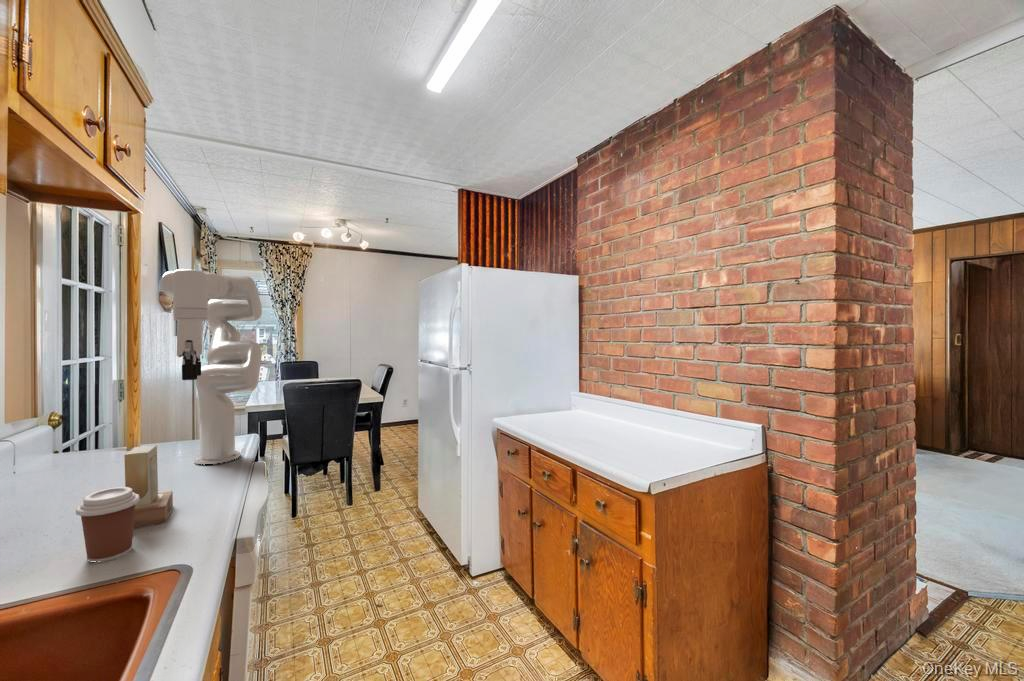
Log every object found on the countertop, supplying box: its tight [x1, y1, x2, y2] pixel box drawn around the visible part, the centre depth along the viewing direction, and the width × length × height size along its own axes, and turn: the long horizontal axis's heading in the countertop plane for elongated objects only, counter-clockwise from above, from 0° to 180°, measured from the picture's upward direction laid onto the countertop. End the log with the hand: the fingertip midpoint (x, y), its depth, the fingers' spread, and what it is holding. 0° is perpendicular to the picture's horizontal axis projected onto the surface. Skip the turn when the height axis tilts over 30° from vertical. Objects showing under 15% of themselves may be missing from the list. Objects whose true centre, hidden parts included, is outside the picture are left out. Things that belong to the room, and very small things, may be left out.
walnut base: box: [133, 490, 174, 529], centre depth 98 cm, size 10×10×4 cm
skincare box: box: [124, 444, 159, 506], centre depth 98 cm, size 6×4×12 cm
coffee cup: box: [75, 486, 140, 562], centre depth 83 cm, size 9×9×12 cm
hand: (192, 377), depth 116 cm, fingers open, 9 cm apart
